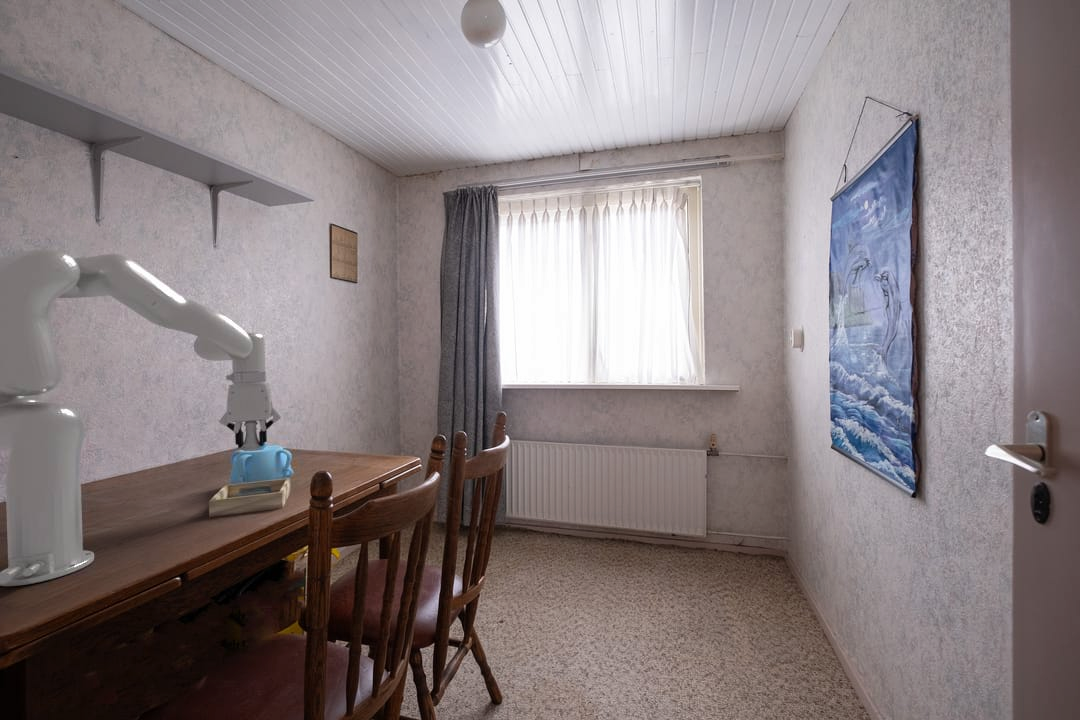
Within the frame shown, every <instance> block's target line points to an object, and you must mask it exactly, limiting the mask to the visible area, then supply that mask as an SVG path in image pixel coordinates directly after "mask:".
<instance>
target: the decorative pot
mask: <svg viewBox="0 0 1080 720" xmlns="http://www.w3.org/2000/svg"><path fill="white" fill-rule="evenodd" d="M259 446H260V445H259ZM292 458H293V455H292V453H291V451H289V450H287V449H284V448H283V447H282V446H281V445H277V444H276V445H275V444H274V445H268V441H267V442H265V444H264V445H263V446H261V448H260V449H259V450H254V451H243V450H242V449H239V450H236V451H234V452H233V453H231V455H230V464H231V470H230V476H229V482H230V484H239V483H248V482H257V481H267V480H276V479H285V478H291V477H292V476H293V475H294V470H293V469H292V467H291V466H292V465H291V462H292V460H293V459H292Z"/></svg>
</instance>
